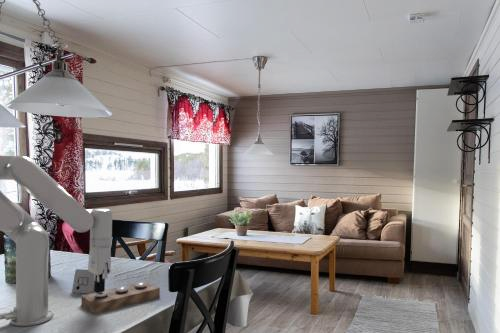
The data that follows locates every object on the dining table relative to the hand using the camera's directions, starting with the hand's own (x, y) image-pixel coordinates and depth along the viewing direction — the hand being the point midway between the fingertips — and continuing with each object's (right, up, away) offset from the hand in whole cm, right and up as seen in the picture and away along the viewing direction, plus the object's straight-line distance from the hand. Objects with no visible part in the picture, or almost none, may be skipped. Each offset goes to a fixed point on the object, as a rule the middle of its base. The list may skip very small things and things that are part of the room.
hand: (99, 291), depth 143 cm
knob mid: (+6, -5, +6) cm, 10 cm away
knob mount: (+6, -5, +6) cm, 10 cm away
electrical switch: (-13, -6, +17) cm, 22 cm away
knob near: (0, -5, 0) cm, 5 cm away
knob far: (+12, -5, +11) cm, 17 cm away
